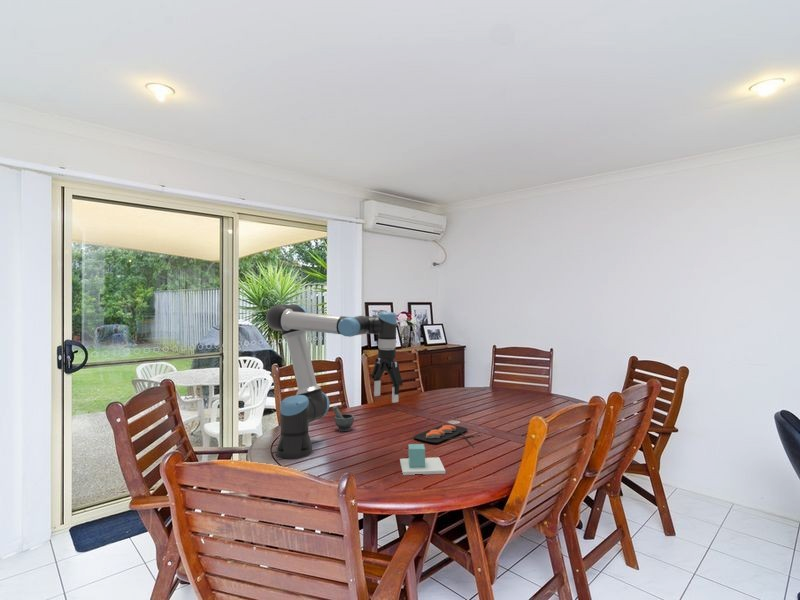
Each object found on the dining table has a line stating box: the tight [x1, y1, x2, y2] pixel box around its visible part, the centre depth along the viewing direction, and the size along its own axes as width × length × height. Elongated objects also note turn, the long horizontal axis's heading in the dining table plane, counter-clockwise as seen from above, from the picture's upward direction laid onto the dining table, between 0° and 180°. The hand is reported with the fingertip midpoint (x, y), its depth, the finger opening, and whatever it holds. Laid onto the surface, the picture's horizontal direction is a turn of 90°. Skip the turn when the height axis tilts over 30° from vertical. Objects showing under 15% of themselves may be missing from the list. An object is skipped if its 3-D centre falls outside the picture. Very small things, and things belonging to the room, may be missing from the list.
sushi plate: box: [412, 423, 481, 449], centre depth 209 cm, size 29×30×4 cm
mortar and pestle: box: [332, 405, 355, 432], centre depth 223 cm, size 11×9×12 cm
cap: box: [407, 443, 426, 468], centre depth 173 cm, size 6×6×7 cm
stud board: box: [399, 456, 446, 476], centre depth 173 cm, size 16×14×6 cm
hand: (385, 398), depth 189 cm, fingers open, 13 cm apart
